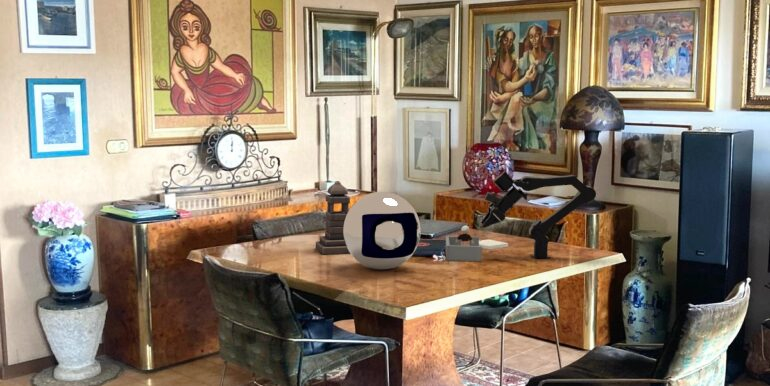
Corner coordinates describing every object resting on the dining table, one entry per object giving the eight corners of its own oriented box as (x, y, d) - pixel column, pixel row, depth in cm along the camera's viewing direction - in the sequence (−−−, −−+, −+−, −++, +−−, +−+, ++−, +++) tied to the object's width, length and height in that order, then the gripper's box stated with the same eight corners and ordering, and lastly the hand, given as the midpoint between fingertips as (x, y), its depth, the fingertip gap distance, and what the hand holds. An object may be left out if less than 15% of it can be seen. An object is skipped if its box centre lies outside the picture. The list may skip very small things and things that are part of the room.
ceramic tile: (508, 246, 395) (508, 243, 395) (488, 249, 388) (488, 246, 388) (488, 242, 405) (488, 239, 404) (469, 245, 397) (469, 242, 397)
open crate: (478, 250, 385) (478, 236, 385) (481, 261, 362) (481, 246, 362) (445, 249, 386) (445, 236, 385) (446, 260, 363) (446, 245, 362)
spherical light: (353, 279, 327) (354, 197, 324) (335, 263, 355) (335, 188, 352) (430, 275, 336) (431, 195, 332) (406, 259, 364) (407, 186, 360)
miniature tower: (322, 255, 371) (322, 183, 367) (315, 248, 385) (315, 179, 382) (360, 253, 376) (360, 182, 372) (351, 247, 390) (352, 178, 386)
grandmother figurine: (473, 254, 376) (474, 225, 374) (473, 256, 372) (474, 226, 370) (455, 254, 377) (455, 224, 375) (455, 255, 373) (455, 225, 371)
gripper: (494, 183, 379) (468, 208, 381) (498, 188, 361) (469, 214, 363) (512, 201, 380) (486, 226, 382) (517, 208, 361) (488, 234, 363)
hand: (482, 225), depth 372 cm, fingers open, 9 cm apart
